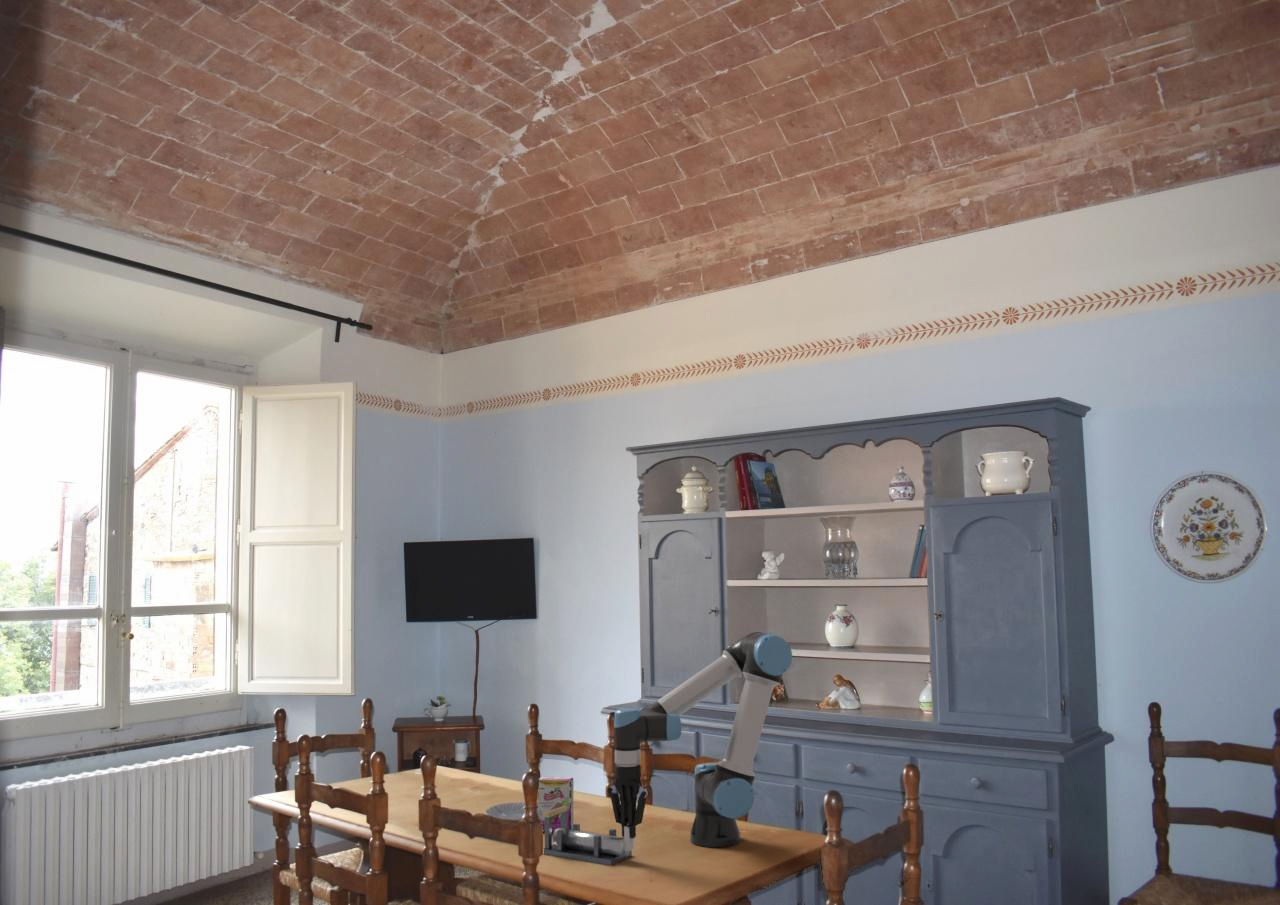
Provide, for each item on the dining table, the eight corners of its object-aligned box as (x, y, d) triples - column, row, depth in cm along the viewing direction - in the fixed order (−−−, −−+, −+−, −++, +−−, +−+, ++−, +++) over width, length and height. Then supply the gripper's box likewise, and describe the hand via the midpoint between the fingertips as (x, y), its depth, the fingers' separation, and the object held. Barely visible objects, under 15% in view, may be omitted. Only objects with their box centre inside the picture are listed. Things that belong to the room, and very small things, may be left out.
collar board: (631, 855, 294) (631, 814, 296) (610, 865, 285) (610, 822, 286) (564, 845, 307) (564, 805, 308) (542, 854, 298) (542, 813, 299)
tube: (630, 855, 290) (631, 836, 291) (620, 858, 286) (621, 839, 287) (562, 844, 303) (563, 826, 304) (552, 847, 299) (552, 828, 299)
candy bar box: (536, 833, 322) (536, 779, 324) (539, 829, 327) (539, 776, 329) (571, 833, 321) (571, 779, 323) (574, 829, 326) (573, 776, 328)
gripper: (653, 763, 291) (655, 849, 289) (615, 760, 298) (616, 843, 295) (640, 768, 285) (641, 855, 282) (601, 764, 291) (602, 849, 289)
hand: (629, 849), depth 289 cm, fingers closed
